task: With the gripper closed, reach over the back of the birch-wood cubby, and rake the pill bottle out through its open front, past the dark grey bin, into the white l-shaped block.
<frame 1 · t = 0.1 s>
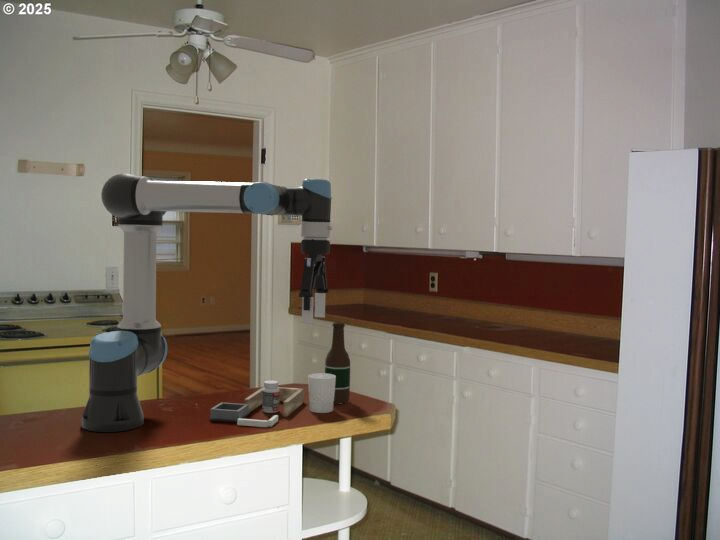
hand: (313, 320, 191), 28 cm above the worktop, fingers open, 13 cm apart
pill bottle: (270, 411, 206), on the worktop
white cup: (321, 411, 209), on the worktop
beer bottle: (336, 402, 220), on the worktop
cubby: (272, 409, 208), on the worktop
white l-shaped block: (252, 425, 190), on the worktop
bin: (229, 417, 198), on the worktop
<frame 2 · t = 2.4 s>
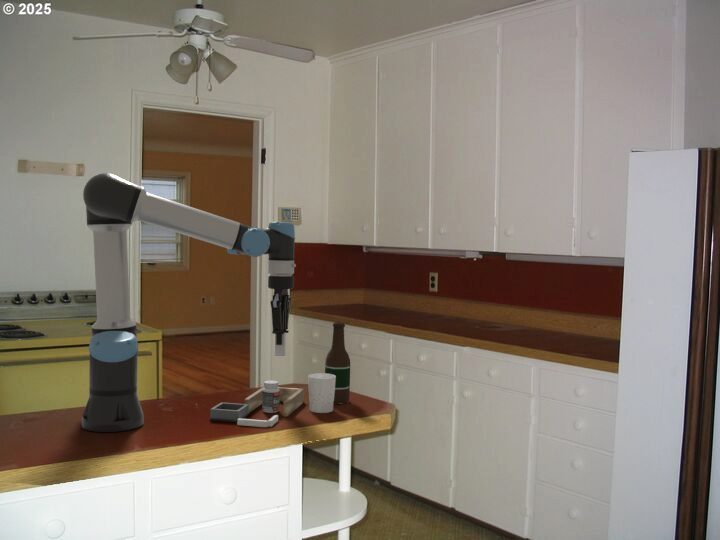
hand: (280, 355, 213), 15 cm above the worktop, fingers closed
nothing on the worktop moved.
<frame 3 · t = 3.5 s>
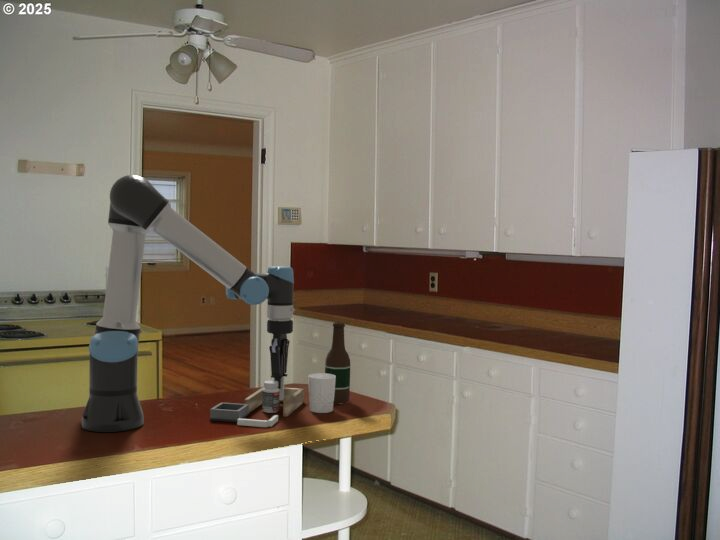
hand: (278, 399, 213), 2 cm above the worktop, fingers closed
nothing on the worktop moved.
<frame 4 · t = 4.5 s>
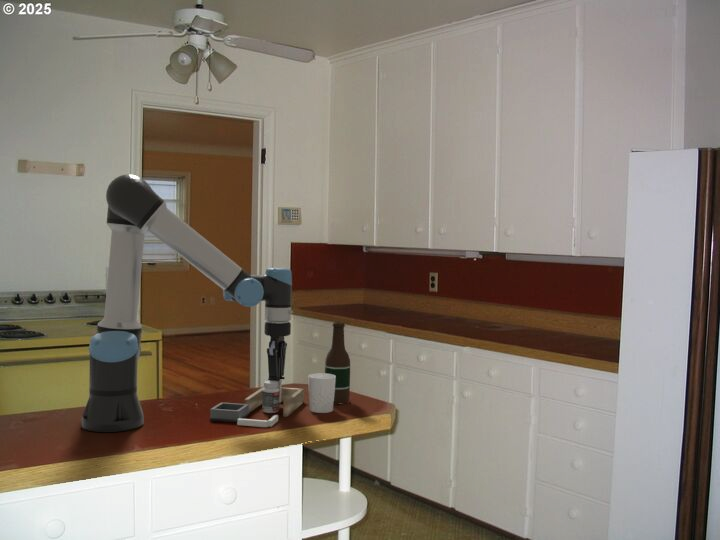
hand: (275, 402, 211), 1 cm above the worktop, fingers closed
pill bottle: (270, 411, 206), on the worktop, touching gripper
everything else where it was.
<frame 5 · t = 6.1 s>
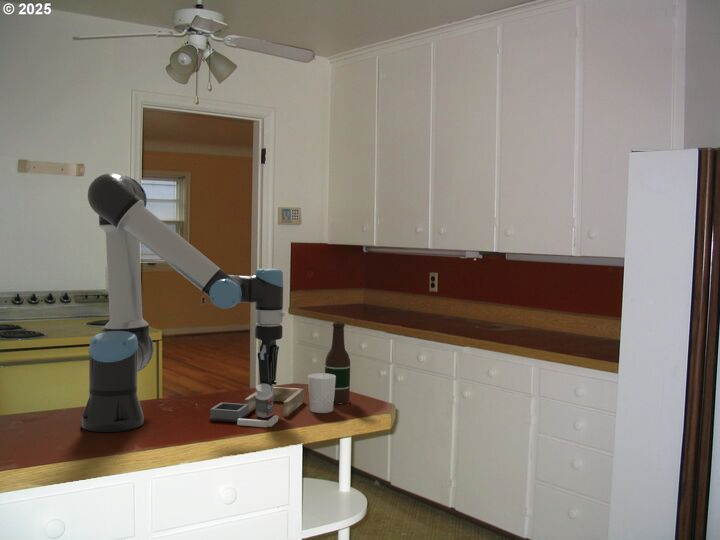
hand: (267, 408, 203), 2 cm above the worktop, fingers closed
pill bottle: (264, 413, 200), point 1 cm above the worktop, touching gripper
everything else where it was.
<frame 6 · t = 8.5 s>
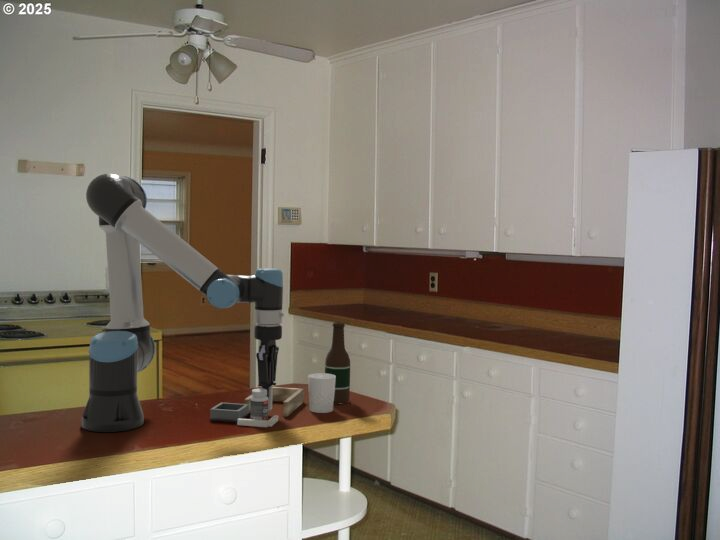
hand: (266, 409, 202), 2 cm above the worktop, fingers closed
pill bottle: (259, 421, 195), on the worktop
everything else where it was.
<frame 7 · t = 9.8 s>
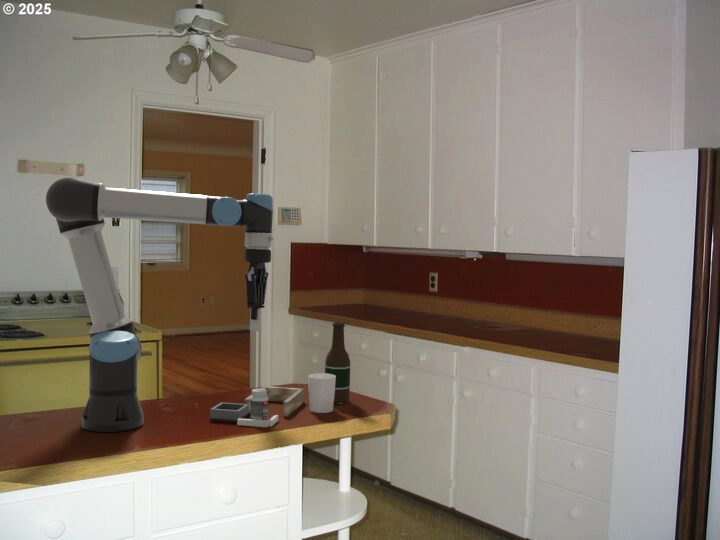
hand: (255, 330, 208), 22 cm above the worktop, fingers closed
nothing on the worktop moved.
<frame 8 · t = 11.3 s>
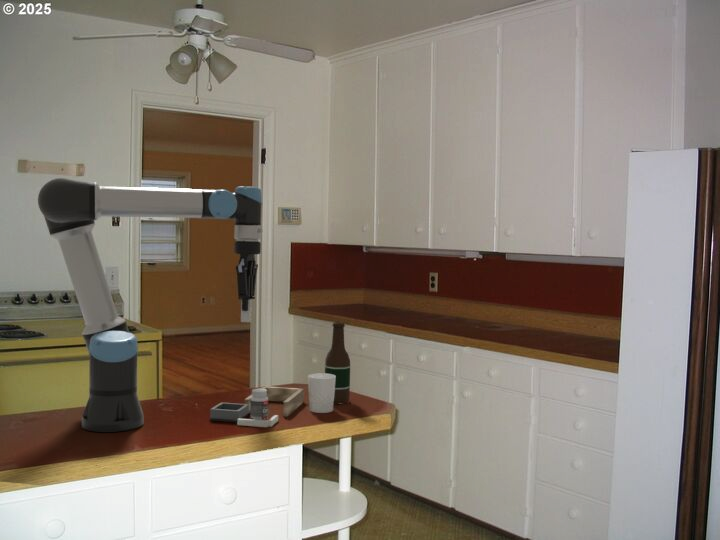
hand: (246, 321, 211), 24 cm above the worktop, fingers closed
nothing on the worktop moved.
at the end: pill bottle inside the target area (0.5 cm from its centre), on the worktop; pill bottle tilted 1°; pill bottle moved 11.1 cm from its start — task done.
